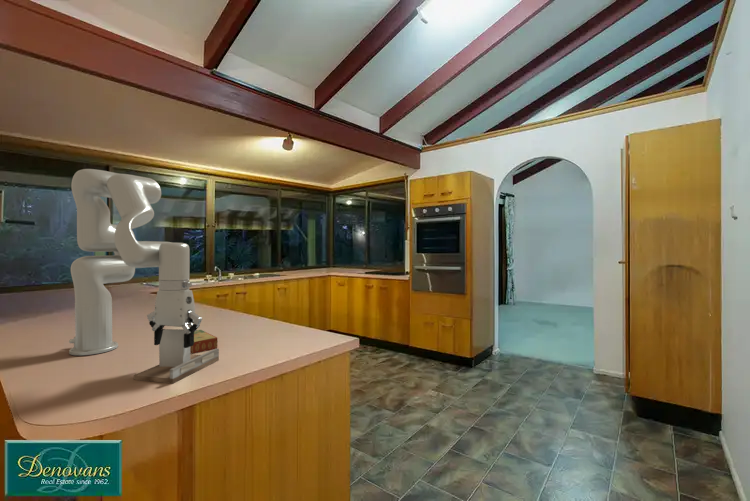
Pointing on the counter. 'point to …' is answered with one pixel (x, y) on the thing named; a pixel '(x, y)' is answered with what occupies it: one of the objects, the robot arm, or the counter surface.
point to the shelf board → (178, 368)
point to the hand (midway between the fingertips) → (174, 345)
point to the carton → (203, 342)
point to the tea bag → (173, 348)
